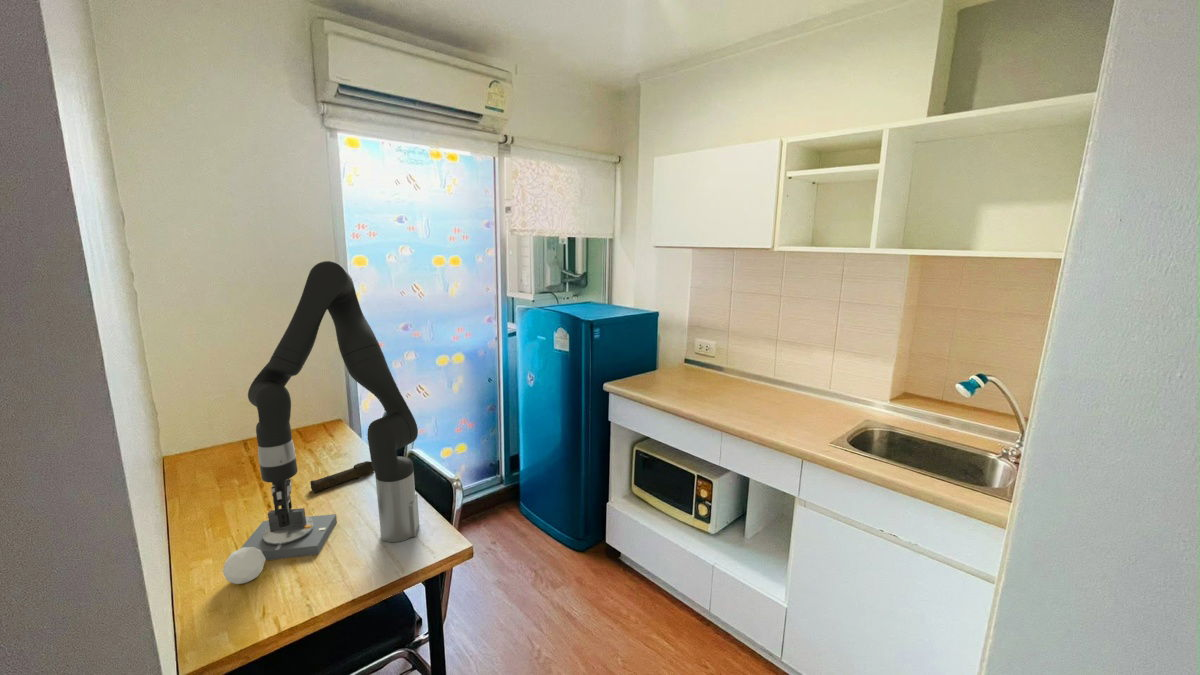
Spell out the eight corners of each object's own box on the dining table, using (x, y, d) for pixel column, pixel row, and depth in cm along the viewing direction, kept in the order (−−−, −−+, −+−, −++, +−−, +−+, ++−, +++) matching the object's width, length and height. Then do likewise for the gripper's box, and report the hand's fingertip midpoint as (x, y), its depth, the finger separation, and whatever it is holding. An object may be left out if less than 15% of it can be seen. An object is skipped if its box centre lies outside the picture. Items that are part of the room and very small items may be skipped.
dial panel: (336, 522, 132) (335, 513, 131) (318, 554, 118) (317, 544, 118) (264, 529, 128) (263, 520, 128) (237, 563, 115) (235, 553, 114)
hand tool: (314, 495, 145) (312, 482, 144) (310, 490, 148) (308, 477, 147) (377, 475, 158) (376, 462, 158) (373, 470, 161) (372, 458, 160)
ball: (253, 592, 109) (249, 581, 104) (217, 583, 108) (210, 571, 103) (274, 559, 115) (271, 547, 110) (240, 550, 114) (235, 537, 108)
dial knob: (276, 521, 127) (274, 500, 126) (320, 518, 129) (318, 498, 128) (254, 547, 117) (250, 525, 115) (302, 543, 118) (299, 521, 117)
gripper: (294, 466, 114) (302, 527, 117) (296, 445, 126) (304, 500, 129) (256, 474, 110) (265, 536, 113) (262, 451, 122) (270, 507, 125)
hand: (285, 517), depth 121 cm, fingers open, 8 cm apart
